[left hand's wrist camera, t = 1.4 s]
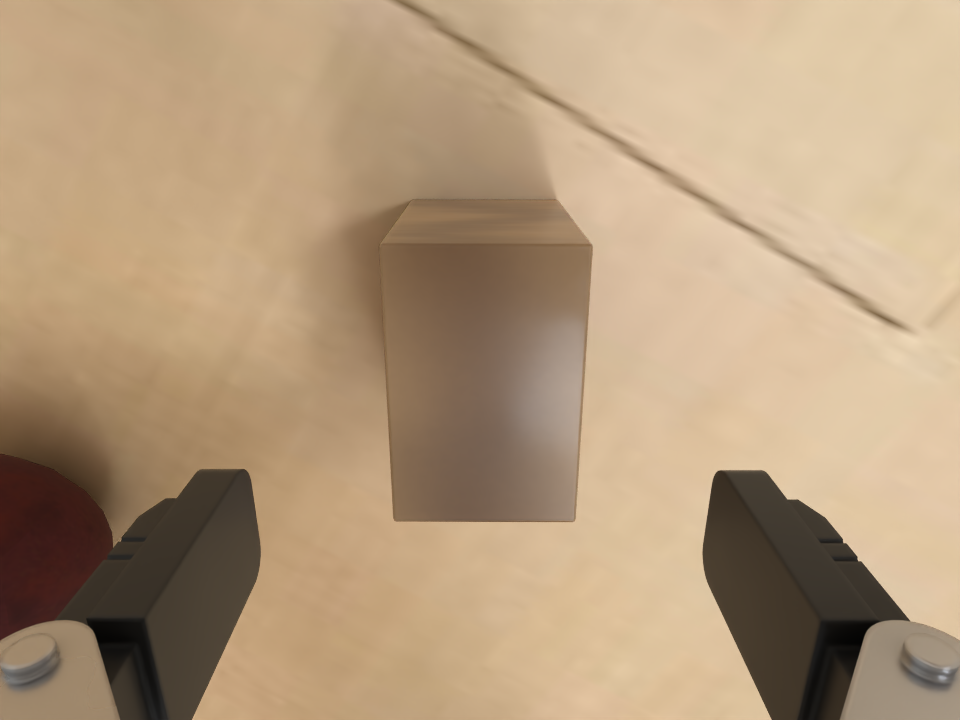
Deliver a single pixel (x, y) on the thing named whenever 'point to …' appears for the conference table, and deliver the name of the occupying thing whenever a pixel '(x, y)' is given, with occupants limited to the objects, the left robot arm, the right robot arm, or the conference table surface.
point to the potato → (44, 543)
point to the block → (485, 359)
